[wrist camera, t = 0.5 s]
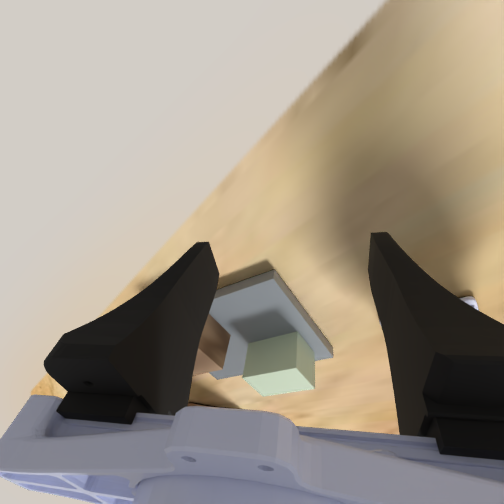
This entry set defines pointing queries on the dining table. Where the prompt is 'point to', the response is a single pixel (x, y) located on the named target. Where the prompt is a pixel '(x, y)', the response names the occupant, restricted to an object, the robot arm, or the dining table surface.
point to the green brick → (280, 365)
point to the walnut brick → (211, 347)
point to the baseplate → (261, 319)
